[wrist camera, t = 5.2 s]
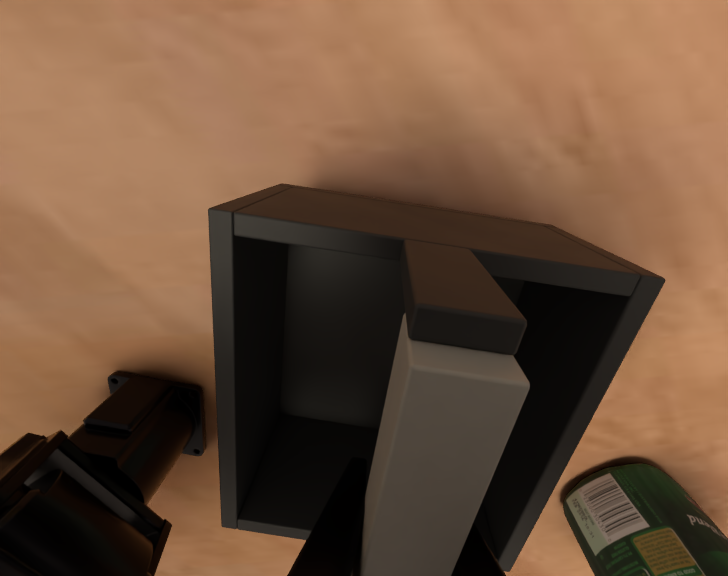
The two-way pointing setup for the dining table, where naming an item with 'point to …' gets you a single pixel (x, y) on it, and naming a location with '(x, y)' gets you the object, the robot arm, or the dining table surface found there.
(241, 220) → the bin
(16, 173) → the dining table surface
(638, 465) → the coffee jar
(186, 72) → the dining table surface
